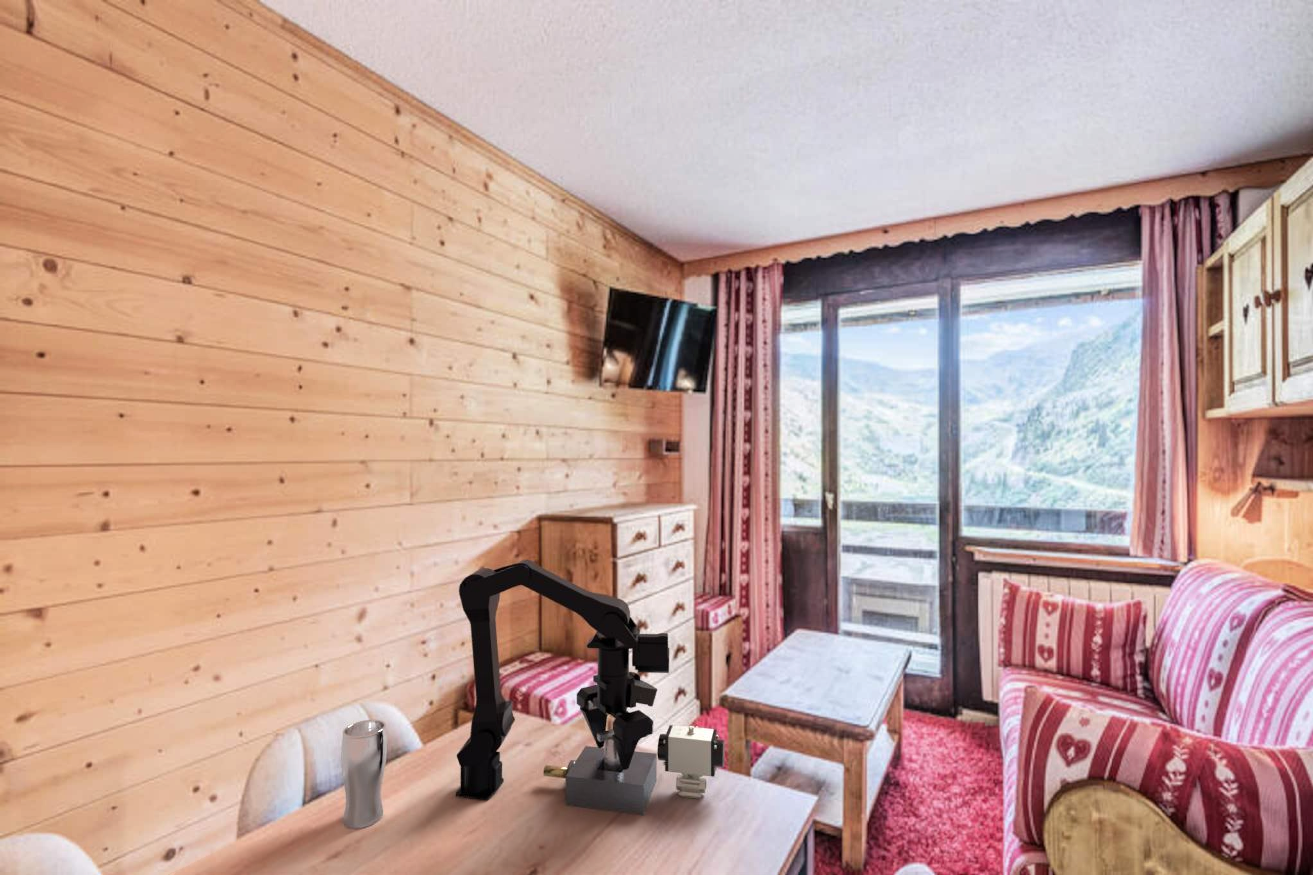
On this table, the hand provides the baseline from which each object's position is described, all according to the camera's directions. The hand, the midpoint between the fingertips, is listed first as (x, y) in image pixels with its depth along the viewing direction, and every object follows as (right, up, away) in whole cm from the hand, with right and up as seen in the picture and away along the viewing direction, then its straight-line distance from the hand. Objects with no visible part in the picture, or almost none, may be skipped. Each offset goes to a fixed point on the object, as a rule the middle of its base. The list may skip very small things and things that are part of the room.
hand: (612, 757), depth 109 cm
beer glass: (-41, -6, -8) cm, 43 cm away
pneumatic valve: (+14, -7, 0) cm, 16 cm away
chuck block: (-3, -6, 0) cm, 7 cm away
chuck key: (0, -4, 0) cm, 4 cm away
